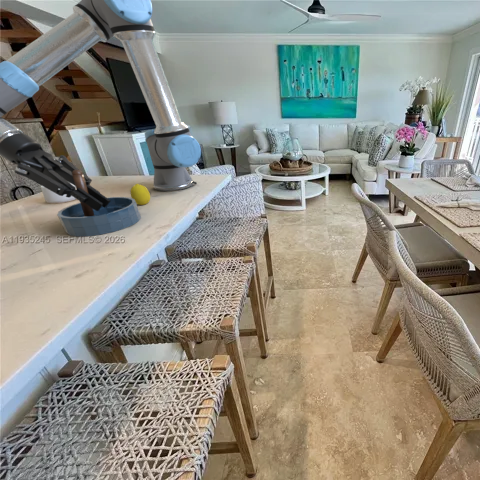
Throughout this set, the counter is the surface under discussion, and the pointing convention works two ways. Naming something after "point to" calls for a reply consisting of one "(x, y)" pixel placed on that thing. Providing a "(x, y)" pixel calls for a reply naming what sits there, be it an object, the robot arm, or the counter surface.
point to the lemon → (140, 194)
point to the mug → (55, 196)
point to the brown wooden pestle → (81, 184)
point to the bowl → (100, 217)
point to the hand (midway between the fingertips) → (103, 205)
